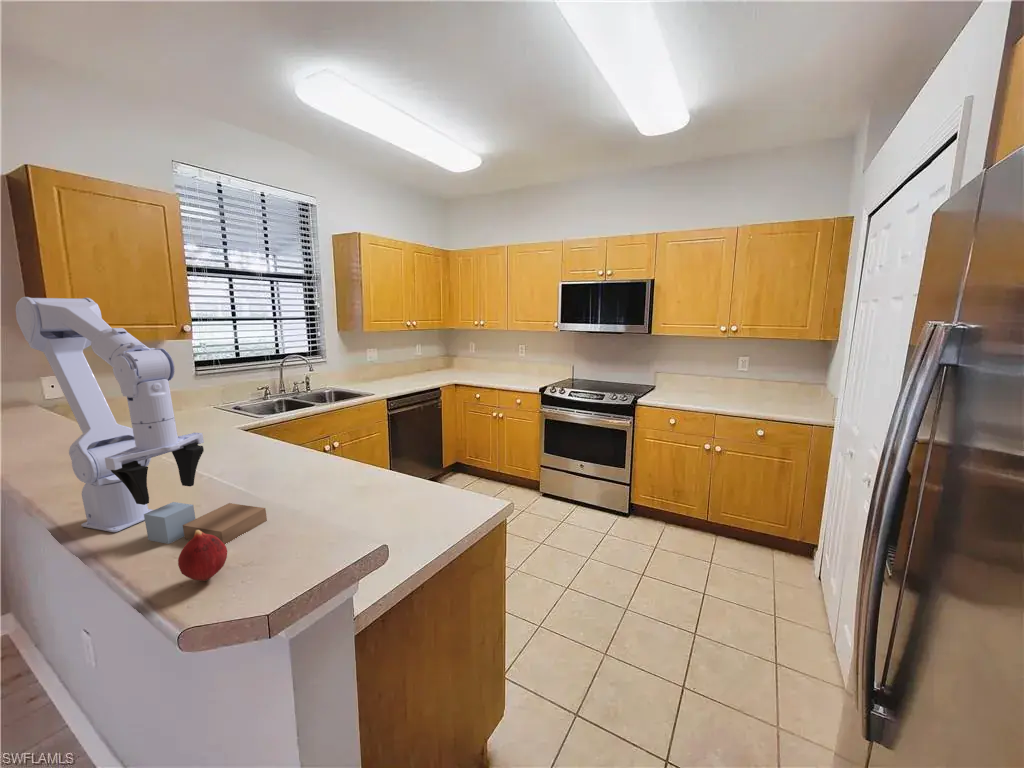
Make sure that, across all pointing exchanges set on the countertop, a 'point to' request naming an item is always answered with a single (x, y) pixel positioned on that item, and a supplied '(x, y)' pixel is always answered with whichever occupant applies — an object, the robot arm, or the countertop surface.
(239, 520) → the base
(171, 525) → the cube
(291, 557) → the countertop surface
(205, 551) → the onion
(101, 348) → the robot arm
